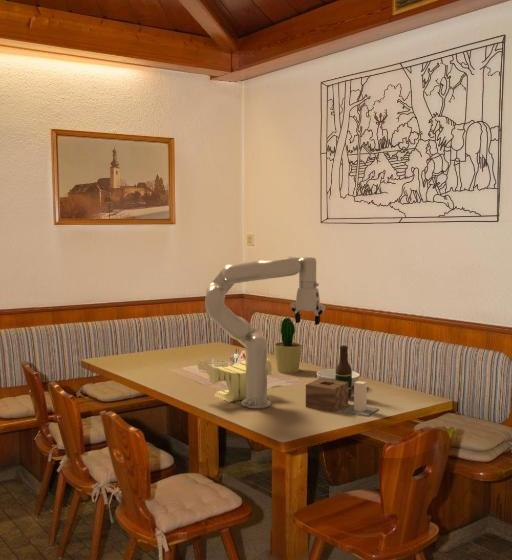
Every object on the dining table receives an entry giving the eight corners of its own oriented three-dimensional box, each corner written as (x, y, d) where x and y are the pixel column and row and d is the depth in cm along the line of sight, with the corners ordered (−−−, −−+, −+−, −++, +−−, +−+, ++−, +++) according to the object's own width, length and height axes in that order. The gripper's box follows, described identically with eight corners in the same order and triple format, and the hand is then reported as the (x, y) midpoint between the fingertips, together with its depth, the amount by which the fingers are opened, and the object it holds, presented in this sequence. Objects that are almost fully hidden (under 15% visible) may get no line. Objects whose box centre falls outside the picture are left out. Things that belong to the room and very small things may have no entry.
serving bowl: (358, 393, 312) (358, 379, 311) (314, 391, 316) (314, 377, 315) (360, 383, 332) (360, 369, 331) (318, 381, 336) (319, 367, 336)
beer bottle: (340, 393, 312) (341, 343, 309) (354, 396, 307) (355, 345, 304) (331, 397, 306) (332, 346, 303) (346, 399, 301) (346, 348, 298)
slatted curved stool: (215, 406, 290) (214, 367, 289) (198, 398, 304) (198, 360, 302) (271, 396, 306) (271, 359, 305) (253, 389, 320) (253, 353, 318)
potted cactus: (301, 374, 350) (301, 319, 347) (272, 373, 352) (272, 318, 350) (303, 368, 365) (303, 314, 362) (276, 367, 368) (275, 314, 365)
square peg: (362, 411, 280) (362, 384, 279) (354, 410, 283) (354, 382, 282) (366, 409, 284) (366, 382, 283) (357, 407, 286) (358, 380, 285)
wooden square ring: (334, 411, 282) (334, 388, 281) (305, 406, 290) (305, 384, 289) (348, 404, 294) (348, 382, 293) (320, 399, 301) (320, 378, 301)
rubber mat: (367, 416, 275) (367, 415, 275) (341, 412, 281) (341, 411, 281) (378, 409, 285) (378, 408, 285) (353, 405, 292) (353, 404, 291)
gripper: (329, 285, 289) (328, 324, 290) (294, 283, 298) (294, 321, 299) (321, 287, 282) (320, 326, 284) (286, 285, 292) (286, 323, 293)
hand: (307, 323), depth 292 cm, fingers open, 9 cm apart
